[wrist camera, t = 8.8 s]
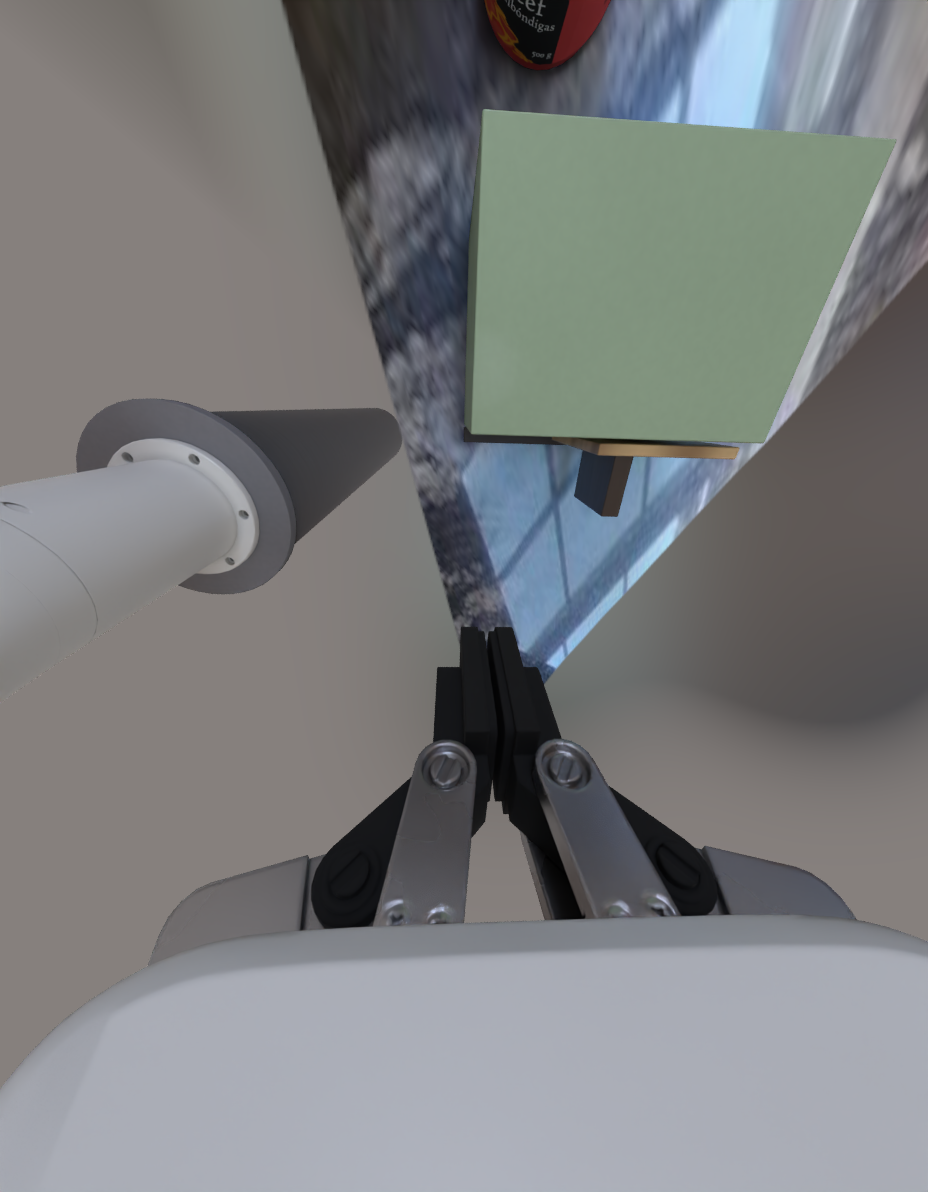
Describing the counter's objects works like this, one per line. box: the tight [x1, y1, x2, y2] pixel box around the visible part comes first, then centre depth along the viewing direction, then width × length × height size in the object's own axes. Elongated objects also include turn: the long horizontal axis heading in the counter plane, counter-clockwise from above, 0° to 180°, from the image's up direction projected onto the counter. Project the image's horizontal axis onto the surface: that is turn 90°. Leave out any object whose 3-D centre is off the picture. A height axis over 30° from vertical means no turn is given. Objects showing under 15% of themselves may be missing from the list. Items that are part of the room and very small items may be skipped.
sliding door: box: [552, 437, 739, 517], centre depth 26 cm, size 9×5×11 cm, turn 88°
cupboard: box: [464, 109, 896, 445], centre depth 22 cm, size 18×13×12 cm
